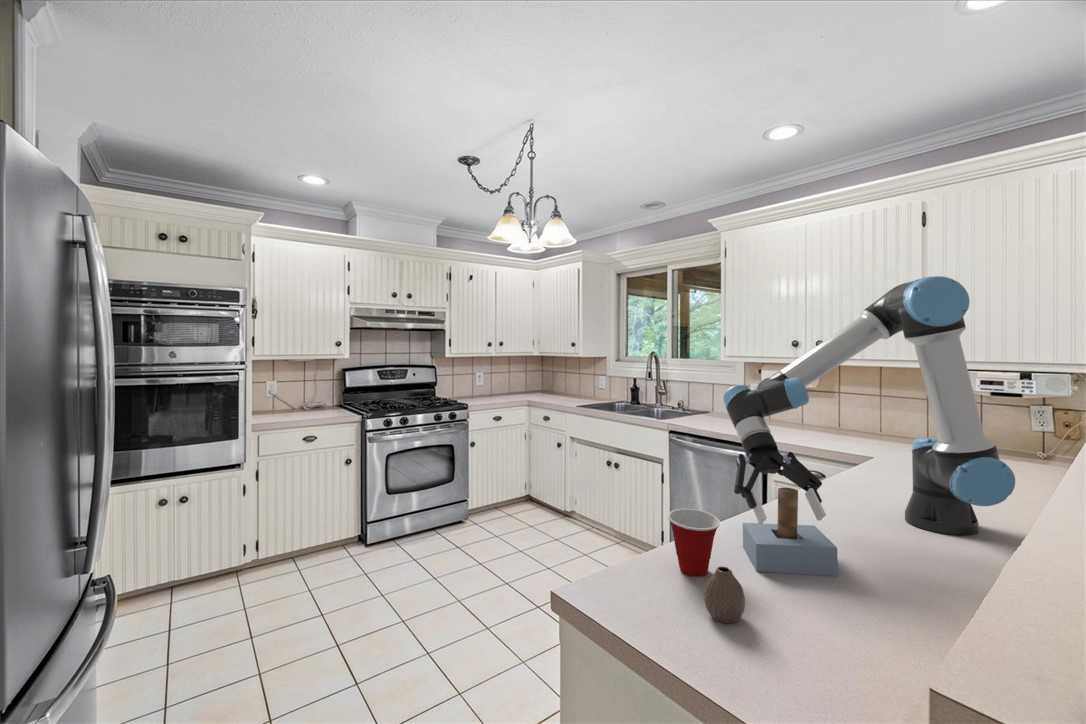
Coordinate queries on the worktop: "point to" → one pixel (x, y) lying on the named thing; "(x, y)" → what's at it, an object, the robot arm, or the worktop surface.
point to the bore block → (790, 550)
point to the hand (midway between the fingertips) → (792, 519)
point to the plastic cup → (693, 539)
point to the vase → (724, 596)
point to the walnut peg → (787, 513)
